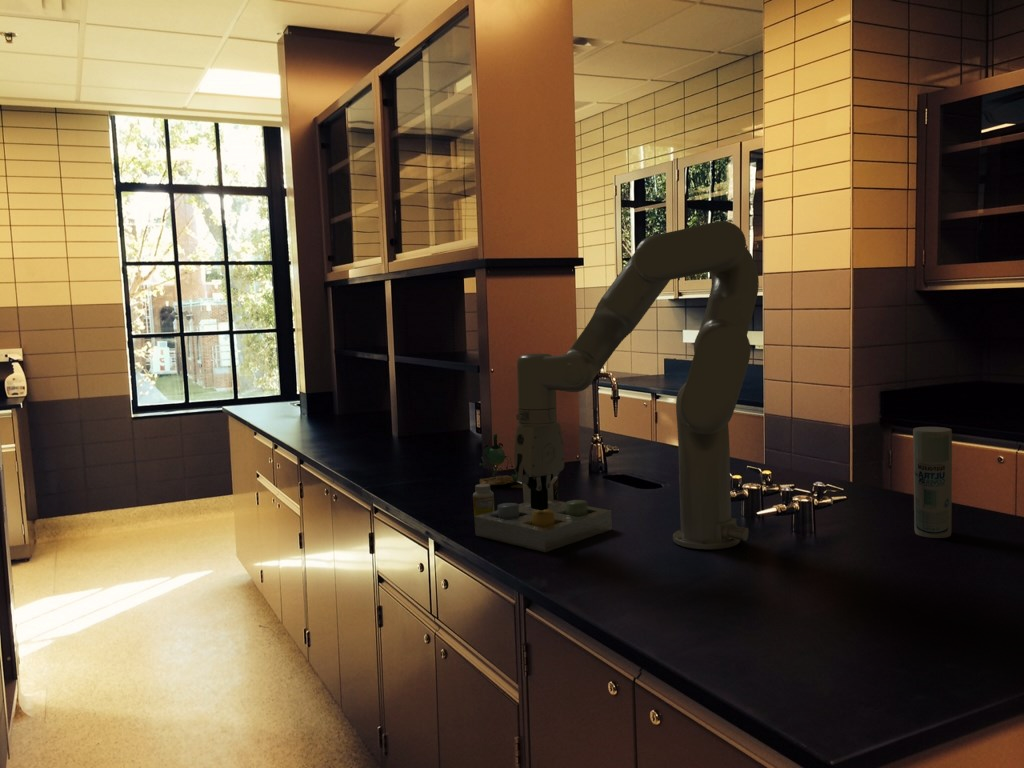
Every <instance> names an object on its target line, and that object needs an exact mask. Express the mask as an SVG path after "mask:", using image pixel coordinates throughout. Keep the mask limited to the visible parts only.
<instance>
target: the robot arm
mask: <svg viewBox="0 0 1024 768" xmlns="http://www.w3.org/2000/svg"><path fill="white" fill-rule="evenodd" d="M706 273H709V275H710V278H711V280H710V281H711V287H710V292H709V296H708V300H707V304H706V308H705V312H704V315H703V318H702V321H701V324H700V328H699V330H698V333H697V335H696V337H695V340H694V343H693V353H694V354H693V358H692V361H691V364H690V366H689V367H690V368H689V370H688V371H689V372H688V374H687V376H686V377H687V378H686V382H684V384H683V385H682V386H681V387H680V389H679V390H678V392H677V395H676V401H675V411H676V412H675V413H676V426H677V443H678V445H677V447H678V448H677V449H678V477H679V478H678V481H679V483H678V485H679V512H680V515H679V516H680V529H678V530H676V531H675V532H674V533H673V534H672V541H673V543H675V544H676V545H678V546H681V547H683V548H688V549H694V550H707V551H708V550H723V549H727V548H728V549H729V548H732V547H735V546H738V544H739V543H740V542H741V541H744V542H745V541H747V540H748V538H749V532H750V531H749V530H750V529H749V527H744V526H738V525H737V518H735V517H732V505H731V504H732V502H731V499H732V497H731V496H732V495H731V470H730V469H731V465H730V464H731V462H730V461H731V456H730V455H731V454H730V453H731V448H730V433H729V432H730V429H729V423H730V421H731V419H732V417H733V415H734V412H735V409H736V406H737V403H738V400H739V398H740V393H741V390H742V387H743V383H744V380H745V378H746V374H747V369H748V368H749V363H750V359H751V342H750V340H749V337H748V333H749V329H750V326H751V323H752V318H753V314H754V311H755V305H756V302H757V299H758V295H759V294H758V293H759V287H760V283H759V282H760V281H759V271H758V269H757V265H756V262H755V259H754V257H753V255H752V253H751V252H750V250H749V249H748V248H747V239H746V236H745V234H744V232H743V231H742V229H741V228H740V227H739V226H738V225H736V224H735V223H733V222H730V221H726V220H725V221H724V220H723V221H722V220H718V221H714V222H708V223H704V224H700V225H696V226H691V227H686V228H681V229H677V230H674V231H668V232H663V233H662V232H661V233H659V234H653V235H649V236H648V237H645V238H644V239H642V240H641V241H640V242H639V243H638V245H637V247H636V248H635V251H634V253H633V254H632V256H631V257H630V259H629V260H628V261H627V263H626V264H625V266H624V267H623V268H622V270H621V271H620V272H619V274H618V275H617V276H616V278H615V279H614V281H613V282H612V283H611V285H610V286H609V287H608V289H607V290H606V292H605V293H604V294H603V296H602V297H601V298H600V300H599V302H598V303H597V305H596V307H595V310H594V312H593V314H592V316H591V318H590V320H589V322H588V323H587V325H586V326H585V328H584V329H583V331H582V332H581V333H580V335H579V336H578V337H577V339H576V340H575V342H574V343H572V346H571V347H570V348H569V350H568V351H567V352H566V353H565V354H558V355H553V354H550V353H526V354H522V355H520V356H519V357H518V358H517V361H516V362H517V364H516V371H517V372H516V375H517V411H518V412H517V414H516V416H515V418H516V420H517V422H518V424H517V426H516V429H515V435H514V436H515V438H514V449H513V450H514V452H513V454H514V455H513V457H514V458H513V461H514V462H513V463H514V464H513V465H514V466H513V467H514V470H515V471H514V473H515V472H516V474H517V475H518V478H517V481H518V482H519V483H522V484H523V483H525V484H526V485H527V486H528V489H531V508H532V509H536V510H541V511H542V510H544V509H545V510H546V509H548V489H549V488H550V482H551V481H552V479H553V478H554V477H556V476H557V477H559V475H560V472H562V471H563V470H564V468H565V451H564V450H565V449H564V441H563V434H562V428H561V424H560V422H559V421H557V420H558V418H557V413H558V411H557V391H559V392H566V393H568V392H569V393H579V392H582V391H584V390H586V389H588V388H589V387H590V386H591V384H592V383H593V381H594V379H595V378H596V376H597V375H598V374H599V373H600V371H601V370H602V368H603V367H604V365H605V364H606V362H608V360H609V359H610V358H611V356H612V355H613V353H614V352H615V351H616V349H617V348H618V347H619V346H620V344H621V343H622V342H623V341H624V340H625V339H626V338H627V337H628V336H629V335H630V334H631V333H632V332H633V331H634V329H636V327H637V326H638V324H639V323H640V322H641V320H642V319H643V318H644V316H645V315H646V314H647V312H648V311H649V309H651V307H652V305H653V304H654V303H655V301H656V300H657V299H658V297H660V294H661V293H662V292H663V291H664V290H665V288H666V287H667V285H668V283H670V281H672V280H678V279H682V278H687V277H693V276H697V275H701V274H706ZM533 478H534V479H535V480H534V479H533Z"/></svg>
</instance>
